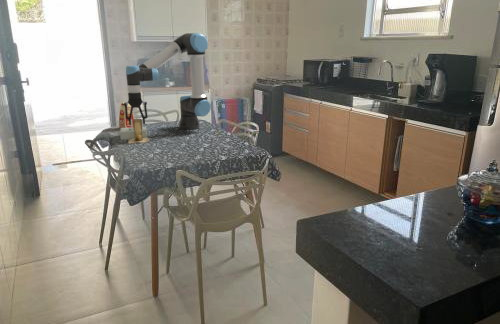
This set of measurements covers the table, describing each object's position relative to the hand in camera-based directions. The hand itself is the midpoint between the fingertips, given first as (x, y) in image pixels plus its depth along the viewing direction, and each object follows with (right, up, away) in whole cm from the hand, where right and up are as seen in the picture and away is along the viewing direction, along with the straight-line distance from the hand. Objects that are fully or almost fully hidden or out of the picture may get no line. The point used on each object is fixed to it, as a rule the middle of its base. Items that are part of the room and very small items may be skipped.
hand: (137, 129), depth 236 cm
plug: (0, -6, +2) cm, 7 cm away
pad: (0, -7, +2) cm, 7 cm away
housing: (-6, -4, +13) cm, 14 cm away
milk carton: (-17, +4, +35) cm, 40 cm away
